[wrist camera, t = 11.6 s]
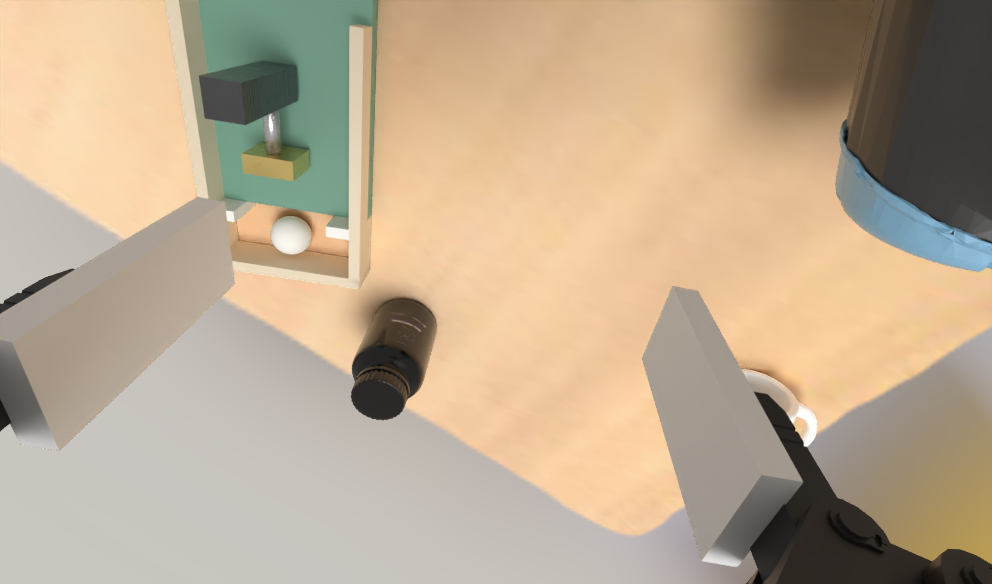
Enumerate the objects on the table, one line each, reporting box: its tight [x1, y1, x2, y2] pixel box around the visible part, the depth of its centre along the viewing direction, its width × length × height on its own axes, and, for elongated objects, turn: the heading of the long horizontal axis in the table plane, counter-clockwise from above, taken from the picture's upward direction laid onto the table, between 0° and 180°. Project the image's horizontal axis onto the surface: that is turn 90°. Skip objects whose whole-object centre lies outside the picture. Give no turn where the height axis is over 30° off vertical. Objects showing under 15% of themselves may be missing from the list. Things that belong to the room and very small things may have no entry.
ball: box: [270, 216, 312, 254], centre depth 46 cm, size 4×4×4 cm
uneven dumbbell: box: [199, 60, 310, 181], centre depth 36 cm, size 8×4×9 cm, turn 171°
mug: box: [741, 369, 817, 447], centre depth 54 cm, size 12×10×8 cm
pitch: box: [165, 0, 378, 289], centre depth 41 cm, size 24×14×4 cm, turn 171°
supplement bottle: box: [351, 299, 436, 420], centre depth 48 cm, size 7×7×12 cm
